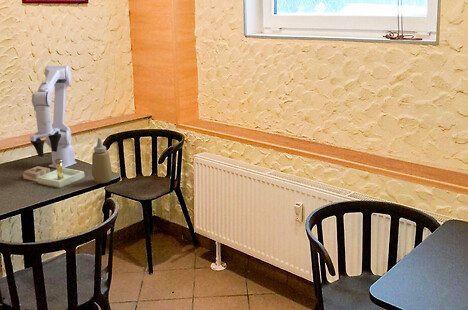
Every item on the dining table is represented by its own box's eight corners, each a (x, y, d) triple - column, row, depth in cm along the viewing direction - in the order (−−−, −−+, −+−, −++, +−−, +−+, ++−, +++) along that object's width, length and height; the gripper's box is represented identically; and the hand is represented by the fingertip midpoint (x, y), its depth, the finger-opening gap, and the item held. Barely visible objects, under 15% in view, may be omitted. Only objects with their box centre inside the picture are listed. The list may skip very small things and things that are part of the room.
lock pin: (60, 177, 228) (58, 158, 226) (66, 178, 227) (64, 159, 224) (54, 179, 226) (52, 160, 223) (60, 180, 224) (58, 161, 222)
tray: (62, 173, 235) (62, 167, 234) (84, 177, 230) (84, 171, 229) (37, 183, 223) (37, 177, 222) (60, 187, 218) (59, 181, 217)
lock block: (38, 173, 235) (37, 166, 234) (50, 175, 232) (49, 168, 231) (23, 178, 228) (22, 171, 228) (36, 181, 225) (35, 174, 224)
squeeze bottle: (105, 185, 220) (102, 142, 214) (88, 183, 222) (84, 140, 217) (116, 179, 227) (113, 136, 222) (99, 177, 230) (96, 135, 224)
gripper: (38, 126, 214) (42, 160, 218) (64, 118, 227) (67, 150, 231) (24, 124, 217) (28, 157, 221) (51, 116, 230) (54, 148, 234)
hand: (47, 153), depth 226 cm, fingers open, 7 cm apart
